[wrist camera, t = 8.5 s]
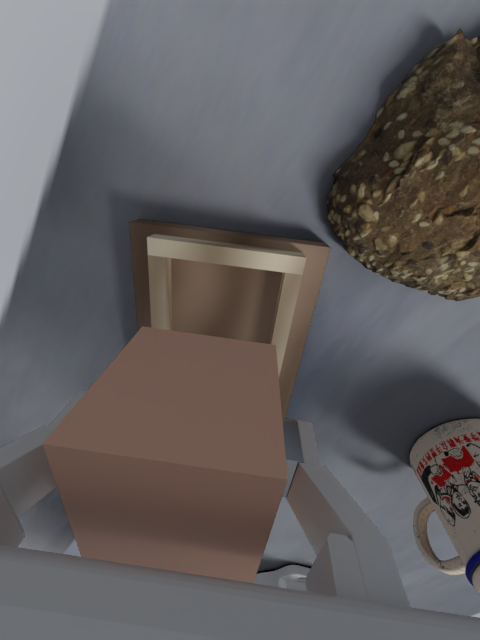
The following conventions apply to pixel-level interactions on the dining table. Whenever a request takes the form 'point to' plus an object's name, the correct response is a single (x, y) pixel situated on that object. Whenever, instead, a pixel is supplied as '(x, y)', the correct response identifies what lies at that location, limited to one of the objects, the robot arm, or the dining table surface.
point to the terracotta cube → (176, 456)
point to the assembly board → (229, 287)
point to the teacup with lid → (450, 493)
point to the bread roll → (419, 179)
